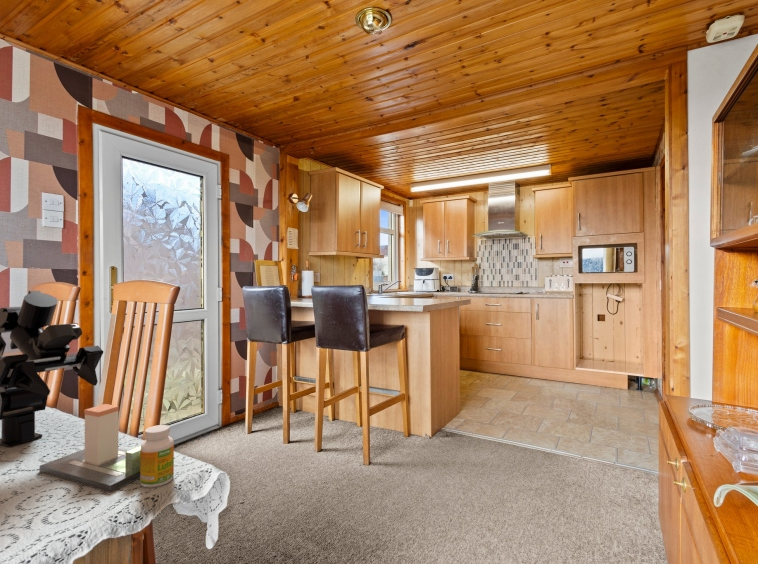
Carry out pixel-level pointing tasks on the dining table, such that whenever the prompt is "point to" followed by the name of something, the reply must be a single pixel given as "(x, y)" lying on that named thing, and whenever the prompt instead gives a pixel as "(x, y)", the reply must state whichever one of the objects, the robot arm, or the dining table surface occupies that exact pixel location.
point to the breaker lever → (101, 433)
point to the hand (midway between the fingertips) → (73, 388)
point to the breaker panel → (97, 469)
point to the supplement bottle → (157, 457)
